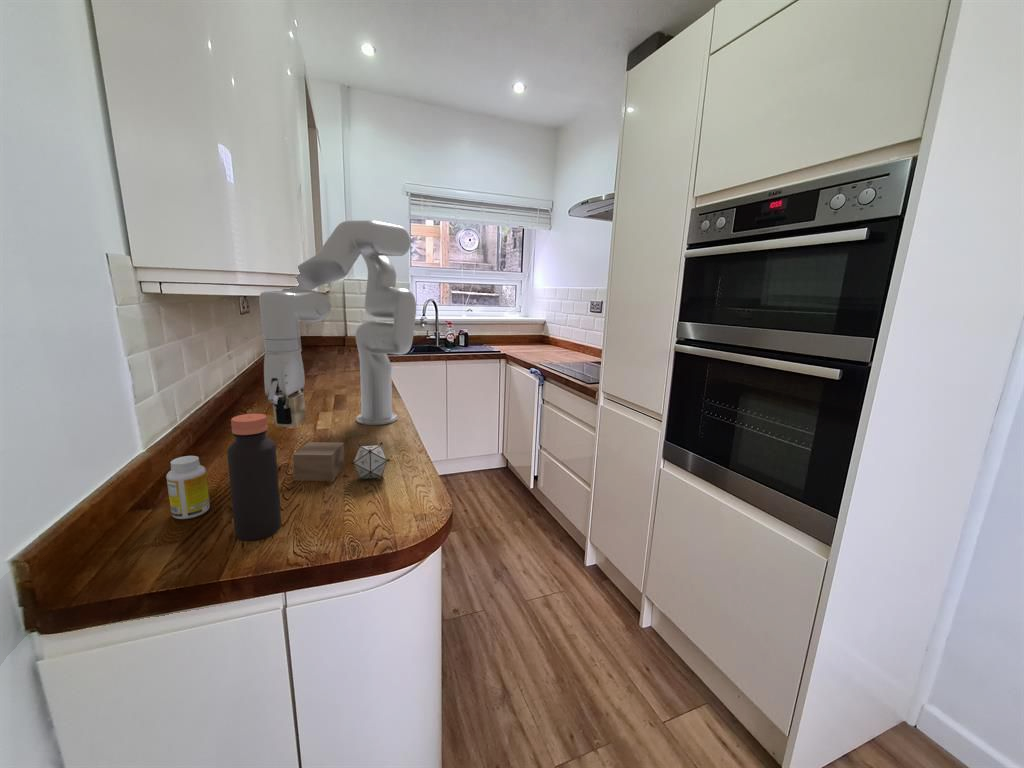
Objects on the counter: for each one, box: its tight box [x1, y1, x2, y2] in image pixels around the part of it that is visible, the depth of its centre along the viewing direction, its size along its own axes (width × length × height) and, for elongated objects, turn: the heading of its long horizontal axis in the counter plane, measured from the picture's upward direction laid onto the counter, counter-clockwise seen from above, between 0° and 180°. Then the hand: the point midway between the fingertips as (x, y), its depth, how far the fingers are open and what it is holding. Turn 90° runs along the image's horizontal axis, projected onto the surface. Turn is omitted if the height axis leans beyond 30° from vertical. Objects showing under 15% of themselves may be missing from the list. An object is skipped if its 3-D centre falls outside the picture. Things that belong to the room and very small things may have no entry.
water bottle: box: [226, 413, 282, 542], centre depth 69 cm, size 7×7×20 cm
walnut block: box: [292, 441, 345, 482], centre depth 94 cm, size 8×8×6 cm
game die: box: [349, 441, 391, 483], centre depth 92 cm, size 9×8×10 cm
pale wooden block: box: [272, 392, 307, 428], centre depth 100 cm, size 5×5×7 cm
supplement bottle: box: [165, 455, 211, 520], centre depth 74 cm, size 6×6×10 cm
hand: (290, 419), depth 101 cm, fingers closed on pale wooden block, 5 cm apart
